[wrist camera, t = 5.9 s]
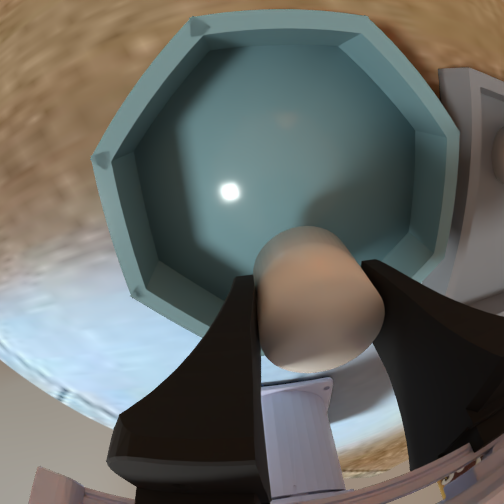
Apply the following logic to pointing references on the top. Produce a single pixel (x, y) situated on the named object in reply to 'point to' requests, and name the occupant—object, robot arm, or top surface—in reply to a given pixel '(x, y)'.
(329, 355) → the pebble
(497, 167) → the pebble
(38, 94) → the top surface
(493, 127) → the tray
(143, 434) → the robot arm
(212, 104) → the bowl
